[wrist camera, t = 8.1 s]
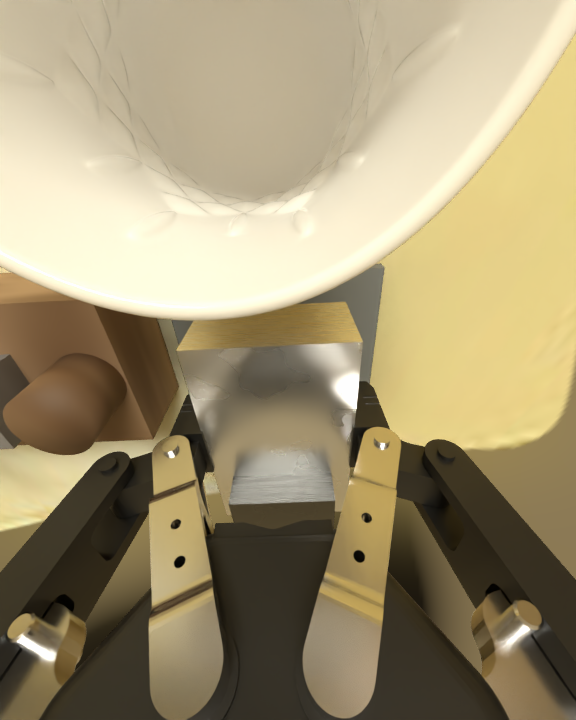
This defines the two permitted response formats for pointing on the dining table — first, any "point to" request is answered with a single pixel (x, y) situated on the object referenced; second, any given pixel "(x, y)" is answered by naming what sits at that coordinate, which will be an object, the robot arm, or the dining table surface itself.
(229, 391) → the lever cap
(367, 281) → the slate mat
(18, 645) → the robot arm
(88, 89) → the white cup
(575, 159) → the dining table surface
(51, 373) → the plane body
